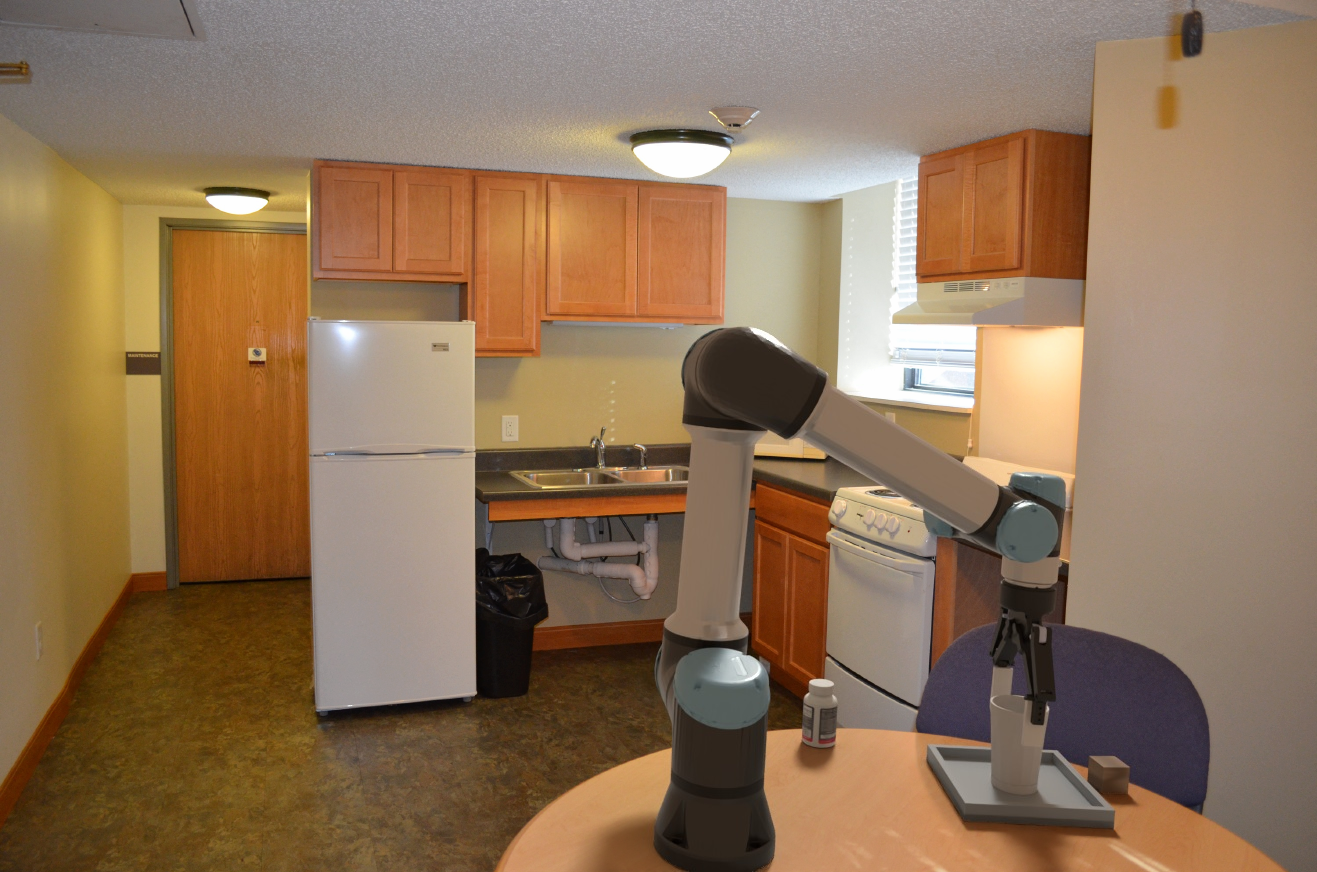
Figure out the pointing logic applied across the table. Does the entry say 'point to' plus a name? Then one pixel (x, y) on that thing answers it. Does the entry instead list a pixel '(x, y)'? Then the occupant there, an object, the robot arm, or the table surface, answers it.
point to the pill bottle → (820, 714)
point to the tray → (1052, 804)
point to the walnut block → (1108, 774)
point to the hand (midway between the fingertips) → (1014, 726)
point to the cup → (1012, 747)
